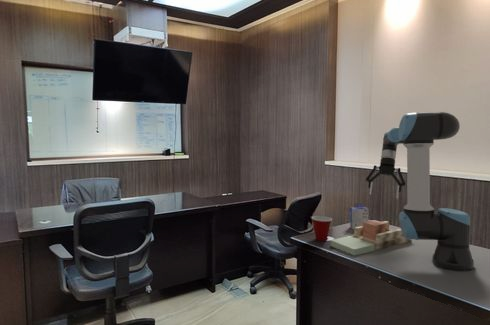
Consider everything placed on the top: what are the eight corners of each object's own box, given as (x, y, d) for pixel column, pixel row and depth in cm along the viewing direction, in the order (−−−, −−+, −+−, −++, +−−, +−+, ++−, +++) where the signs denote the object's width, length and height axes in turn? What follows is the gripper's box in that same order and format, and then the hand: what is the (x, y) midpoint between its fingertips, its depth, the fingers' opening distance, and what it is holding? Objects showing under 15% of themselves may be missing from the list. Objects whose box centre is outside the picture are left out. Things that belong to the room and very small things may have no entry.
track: (385, 233, 191) (386, 220, 191) (411, 240, 177) (411, 227, 177) (349, 241, 179) (349, 228, 178) (374, 250, 165) (374, 236, 164)
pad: (349, 241, 179) (349, 235, 179) (374, 250, 165) (374, 244, 165) (330, 245, 173) (330, 240, 173) (354, 255, 159) (354, 249, 159)
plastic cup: (335, 241, 179) (335, 219, 178) (315, 243, 178) (315, 220, 177) (327, 235, 190) (327, 214, 189) (308, 237, 188) (308, 215, 187)
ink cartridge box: (366, 226, 205) (366, 202, 204) (369, 229, 200) (369, 204, 199) (349, 226, 206) (349, 203, 204) (352, 229, 200) (352, 205, 199)
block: (373, 233, 181) (373, 219, 180) (386, 237, 174) (386, 223, 173) (362, 236, 177) (362, 222, 177) (375, 240, 170) (375, 225, 170)
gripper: (412, 163, 190) (408, 200, 185) (365, 158, 200) (360, 194, 195) (413, 159, 184) (409, 197, 178) (364, 154, 194) (359, 190, 188)
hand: (383, 195), depth 187 cm, fingers open, 13 cm apart
